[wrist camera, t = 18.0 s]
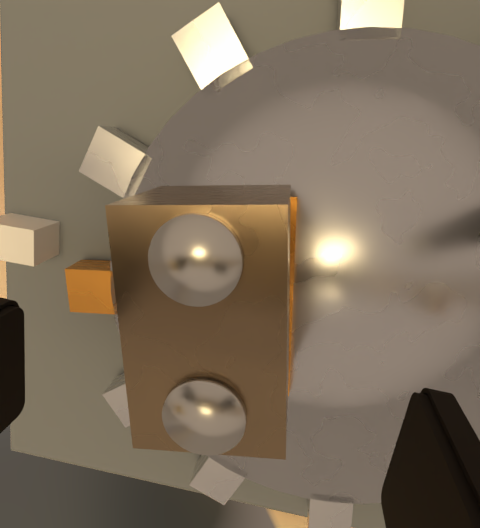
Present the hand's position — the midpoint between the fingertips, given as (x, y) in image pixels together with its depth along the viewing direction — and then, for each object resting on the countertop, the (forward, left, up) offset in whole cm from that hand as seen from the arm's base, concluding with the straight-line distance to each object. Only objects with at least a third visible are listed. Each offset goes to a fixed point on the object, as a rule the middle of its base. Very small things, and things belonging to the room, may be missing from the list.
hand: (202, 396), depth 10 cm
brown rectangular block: (+1, 0, -8) cm, 8 cm away
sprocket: (-4, 0, -9) cm, 10 cm away
